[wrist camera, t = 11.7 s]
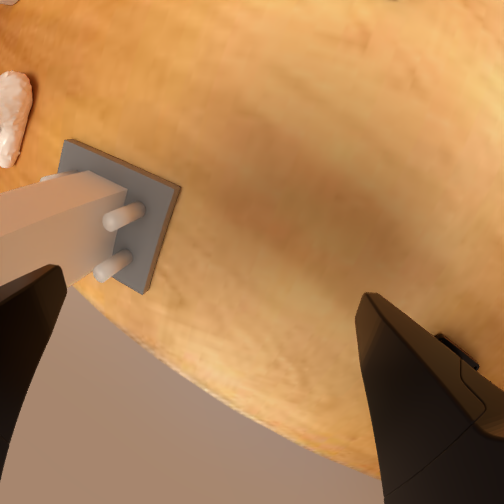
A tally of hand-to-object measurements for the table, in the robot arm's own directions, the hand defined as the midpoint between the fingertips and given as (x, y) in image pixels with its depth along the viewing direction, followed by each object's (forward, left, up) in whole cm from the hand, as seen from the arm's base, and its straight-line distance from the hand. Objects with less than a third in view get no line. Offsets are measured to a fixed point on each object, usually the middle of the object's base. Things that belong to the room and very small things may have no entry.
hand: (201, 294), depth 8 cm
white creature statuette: (+27, +5, -13) cm, 30 cm away
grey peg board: (+11, +8, -13) cm, 18 cm away
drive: (+11, +8, -12) cm, 17 cm away
